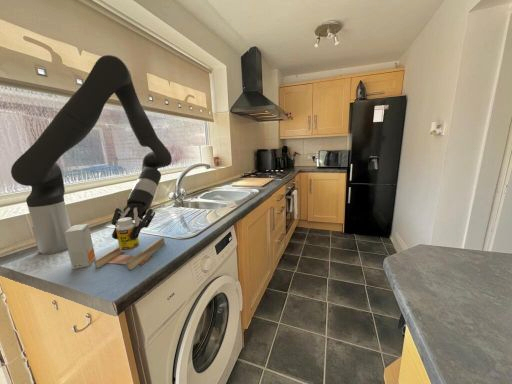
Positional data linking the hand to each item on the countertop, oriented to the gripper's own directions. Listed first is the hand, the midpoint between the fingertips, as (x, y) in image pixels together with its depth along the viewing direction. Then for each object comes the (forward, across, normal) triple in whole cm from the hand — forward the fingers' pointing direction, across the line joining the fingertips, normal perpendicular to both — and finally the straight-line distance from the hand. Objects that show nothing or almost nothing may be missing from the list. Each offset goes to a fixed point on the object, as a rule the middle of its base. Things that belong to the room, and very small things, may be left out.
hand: (123, 238), depth 66 cm
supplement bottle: (+2, 0, +4) cm, 5 cm away
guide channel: (+3, 0, +7) cm, 8 cm away
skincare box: (+8, -12, +2) cm, 14 cm away
